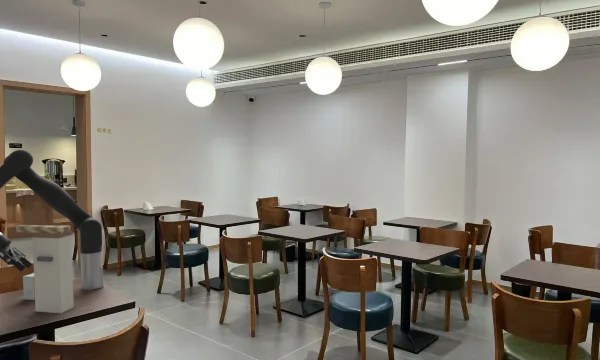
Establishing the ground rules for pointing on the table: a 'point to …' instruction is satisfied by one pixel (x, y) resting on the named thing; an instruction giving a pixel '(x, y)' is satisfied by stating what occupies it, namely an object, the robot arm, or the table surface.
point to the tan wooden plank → (44, 229)
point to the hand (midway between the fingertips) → (27, 267)
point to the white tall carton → (53, 272)
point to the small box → (29, 287)
